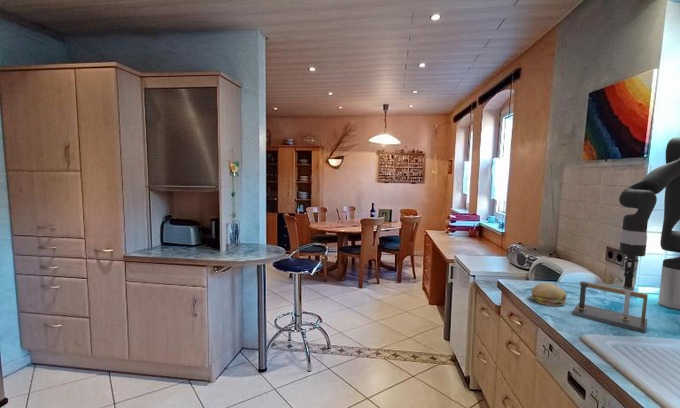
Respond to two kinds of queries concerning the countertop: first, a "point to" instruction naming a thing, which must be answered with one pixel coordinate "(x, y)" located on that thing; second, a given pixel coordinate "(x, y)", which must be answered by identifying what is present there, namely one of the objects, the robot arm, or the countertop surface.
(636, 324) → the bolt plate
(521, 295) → the countertop surface
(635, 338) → the countertop surface
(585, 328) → the countertop surface
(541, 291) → the burger
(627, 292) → the grey elongated rounded piece
